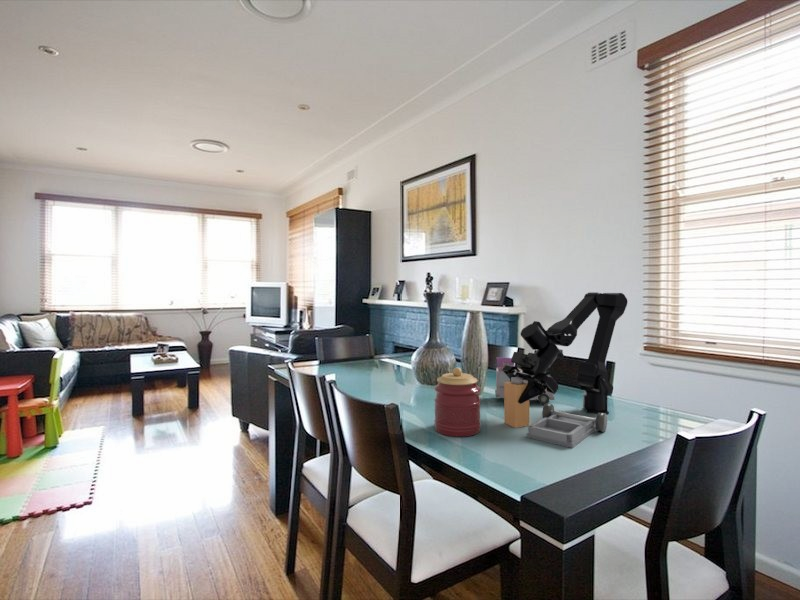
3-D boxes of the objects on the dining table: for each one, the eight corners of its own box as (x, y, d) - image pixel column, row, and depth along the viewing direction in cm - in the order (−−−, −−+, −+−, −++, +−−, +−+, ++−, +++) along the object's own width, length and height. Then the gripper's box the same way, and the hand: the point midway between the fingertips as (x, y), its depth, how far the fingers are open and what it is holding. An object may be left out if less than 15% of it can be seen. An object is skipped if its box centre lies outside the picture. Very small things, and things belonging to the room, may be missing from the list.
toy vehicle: (554, 406, 144) (554, 361, 144) (495, 403, 148) (495, 360, 148) (550, 399, 153) (550, 357, 153) (495, 396, 157) (495, 356, 157)
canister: (442, 420, 129) (441, 362, 128) (485, 425, 124) (484, 365, 123) (428, 434, 117) (427, 369, 116) (475, 440, 112) (475, 373, 111)
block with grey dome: (517, 420, 128) (517, 375, 128) (529, 425, 124) (529, 379, 123) (504, 422, 126) (504, 377, 126) (515, 427, 122) (515, 380, 121)
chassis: (550, 417, 131) (550, 401, 131) (608, 428, 120) (608, 411, 120) (518, 435, 115) (518, 416, 115) (582, 450, 104) (582, 429, 104)
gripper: (507, 338, 134) (477, 376, 130) (550, 345, 117) (518, 389, 113) (526, 362, 138) (498, 399, 134) (571, 371, 121) (541, 415, 117)
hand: (512, 400), depth 124 cm, fingers closed on block with grey dome, 5 cm apart
